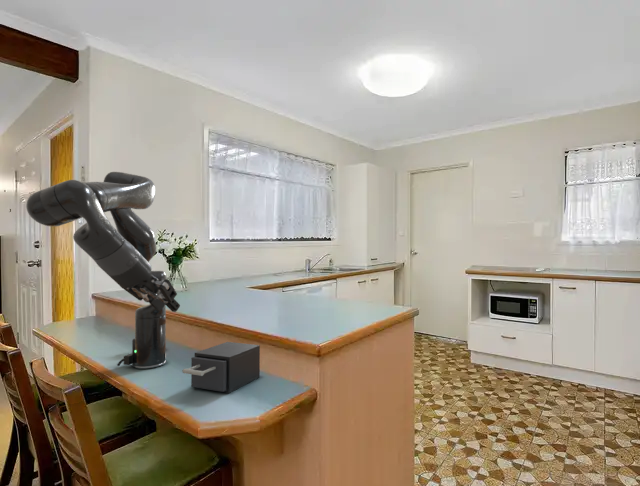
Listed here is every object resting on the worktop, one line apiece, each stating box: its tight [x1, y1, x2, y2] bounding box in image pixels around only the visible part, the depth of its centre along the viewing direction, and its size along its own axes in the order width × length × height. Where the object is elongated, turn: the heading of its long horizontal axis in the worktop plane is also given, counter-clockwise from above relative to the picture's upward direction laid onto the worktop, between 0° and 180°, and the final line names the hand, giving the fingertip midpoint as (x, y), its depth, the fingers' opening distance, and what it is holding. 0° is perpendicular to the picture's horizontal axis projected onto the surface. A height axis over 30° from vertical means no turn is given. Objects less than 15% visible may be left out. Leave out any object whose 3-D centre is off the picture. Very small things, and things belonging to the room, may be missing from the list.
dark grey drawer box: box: [194, 341, 261, 394], centre depth 112 cm, size 14×13×10 cm
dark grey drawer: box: [182, 356, 227, 393], centre depth 107 cm, size 18×12×8 cm, turn 161°
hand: (169, 308), depth 92 cm, fingers open, 4 cm apart
